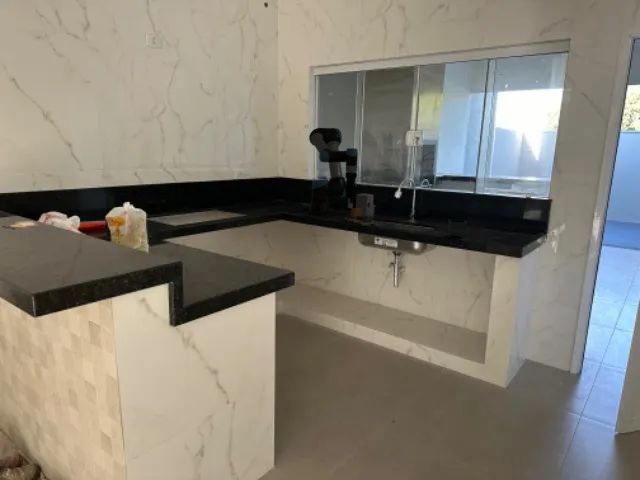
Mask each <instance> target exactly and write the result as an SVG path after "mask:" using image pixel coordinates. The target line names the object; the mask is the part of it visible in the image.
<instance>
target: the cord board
mask: <svg viewBox="0 0 640 480" xmlns="http://www.w3.org/2000/svg"><path fill="white" fill-rule="evenodd" d="M346 220H347V221H346ZM344 221H346V222H349V221H351V222H350V223H352V222H354V223H353V224H356V223H358V224H357V225H359V224H361V225H360V226H362V225H363V226H362V227H364V225H366V226H372V225H371V224H375V225H379V221H377V220H373V216H369V215H368V216H364V217H362V216H361V217H359V216H357V218H356V219H355V218H352V215H351V213H349V214H346V216H345V218H344Z"/></svg>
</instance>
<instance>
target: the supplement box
mask: <svg viewBox="0 0 640 480" xmlns="http://www.w3.org/2000/svg"><path fill="white" fill-rule="evenodd" d="M355 199H356V200H355V208H360V209H362V216H361V217H363V218H364V216H368V215H369V216H372V217H373V213H374V212H373V211H374V194H373V193H372V194H371V193H358V194H357V193H356V197H355Z"/></svg>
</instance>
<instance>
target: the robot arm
mask: <svg viewBox="0 0 640 480" xmlns="http://www.w3.org/2000/svg"><path fill="white" fill-rule="evenodd" d="M342 137H343V136H342V132H341V129H339V128H337V127H317V128H314V129H313V130H311V132H310V133H309V135H308V140H309V142H310V144H311V145H312V146H314V148H315V149H316V150H317V152H318V153H319V155H318V158H319V161H320V163H325V164H326V163H328V167H329V174H330V178H329V179H328V178H327V179H325V178H323V179H316V180H313V181H312V183H311V201H310V202H311V203H310V205H309V209H308V213H309V214H313V215H328V214H330V213H331V208H330V204H329V199H335V198H336V199H338V198H339V199H341V198H346V197H347V208H348V209H353V208H354V207H353V204H354V198H355V199H356V197H357V190H358V189H357V188H358V186H359V183H357V180H356V179H357V178H358V173H357V172H358V158H359V157H358V156H359V151H358V148H355V147H354V148H353V147H348V148H346V149H345V150H339V147H340V146H341V143H342V140H343V138H342ZM341 163H345V175H343V171H342V164H341ZM344 176H345V177H344Z"/></svg>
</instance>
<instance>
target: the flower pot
mask: <svg viewBox="0 0 640 480" xmlns="http://www.w3.org/2000/svg"><path fill="white" fill-rule="evenodd" d="M467 225H468V222H467V221H466V220H464V219H448V231H449V233H451V234H454V235H463V236H464V235H465V232H466V229H467ZM451 234H450V235H451Z"/></svg>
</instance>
